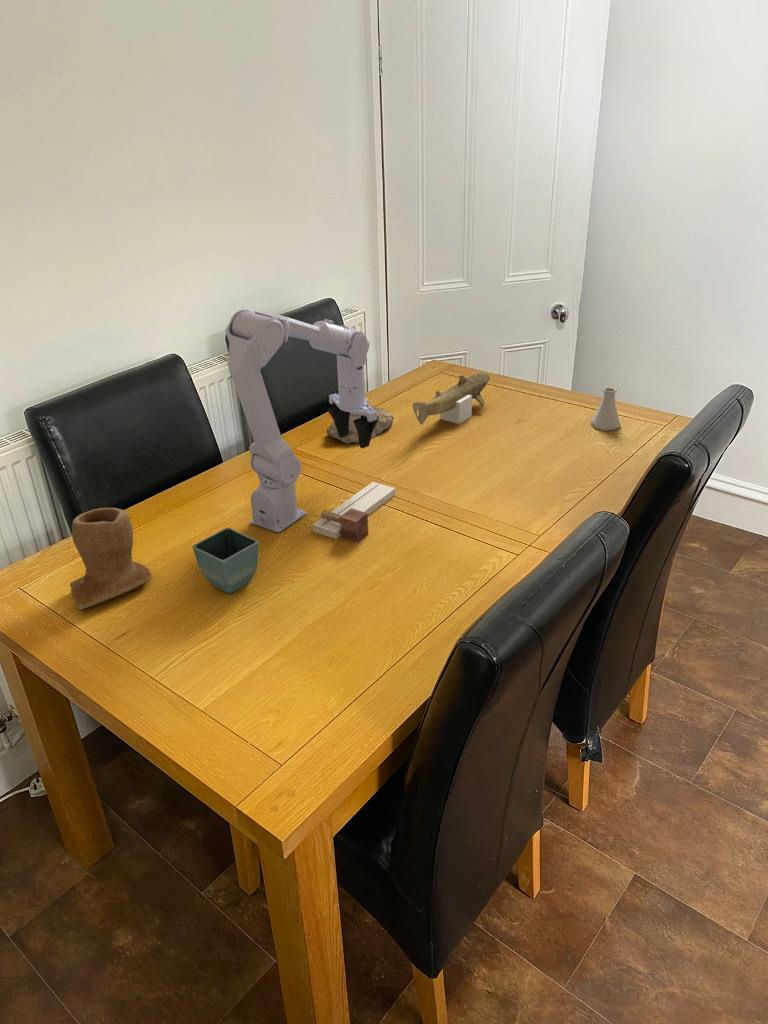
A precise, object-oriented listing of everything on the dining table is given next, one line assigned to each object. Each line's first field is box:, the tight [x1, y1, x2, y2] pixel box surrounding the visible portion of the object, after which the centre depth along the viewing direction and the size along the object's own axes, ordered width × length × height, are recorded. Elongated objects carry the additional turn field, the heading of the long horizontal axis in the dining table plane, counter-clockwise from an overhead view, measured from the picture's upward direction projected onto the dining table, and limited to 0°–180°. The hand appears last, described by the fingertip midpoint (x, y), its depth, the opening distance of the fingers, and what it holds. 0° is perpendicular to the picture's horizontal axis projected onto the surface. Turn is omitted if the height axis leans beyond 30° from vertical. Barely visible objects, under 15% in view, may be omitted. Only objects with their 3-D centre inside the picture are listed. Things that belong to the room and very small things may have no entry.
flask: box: [590, 386, 621, 432], centre depth 207 cm, size 7×7×10 cm
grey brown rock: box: [325, 405, 395, 445], centre depth 210 cm, size 14×5×20 cm
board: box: [312, 481, 396, 540], centre depth 173 cm, size 22×6×2 cm, turn 146°
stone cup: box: [69, 507, 152, 611], centre depth 148 cm, size 15×12×15 cm
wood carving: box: [412, 372, 491, 426], centre depth 212 cm, size 9×35×11 cm, turn 143°
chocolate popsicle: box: [320, 508, 369, 544], centre depth 165 cm, size 4×10×5 cm, turn 56°
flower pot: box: [191, 527, 260, 594], centre depth 149 cm, size 9×9×9 cm
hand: (354, 441), depth 182 cm, fingers open, 7 cm apart
